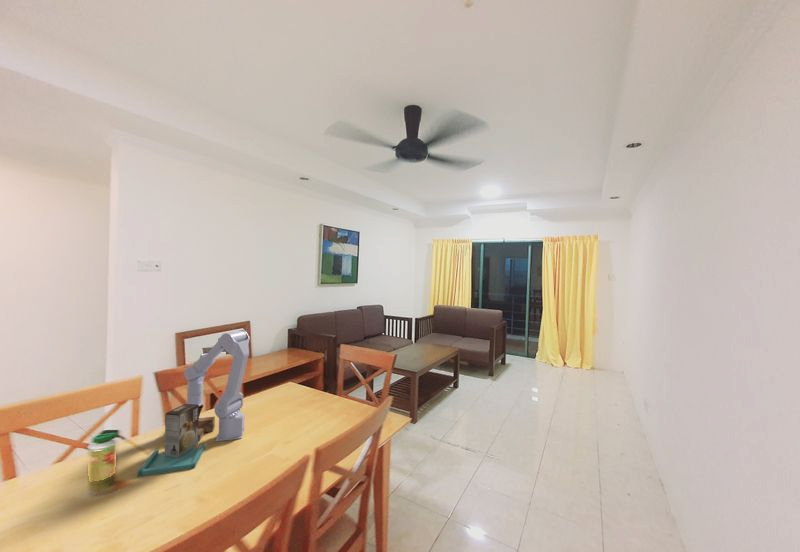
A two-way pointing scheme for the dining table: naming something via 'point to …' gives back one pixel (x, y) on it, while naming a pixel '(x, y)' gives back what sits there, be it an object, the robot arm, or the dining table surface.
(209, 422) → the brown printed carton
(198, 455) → the tray
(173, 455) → the coffee box
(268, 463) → the dining table surface
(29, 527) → the dining table surface
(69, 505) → the dining table surface
